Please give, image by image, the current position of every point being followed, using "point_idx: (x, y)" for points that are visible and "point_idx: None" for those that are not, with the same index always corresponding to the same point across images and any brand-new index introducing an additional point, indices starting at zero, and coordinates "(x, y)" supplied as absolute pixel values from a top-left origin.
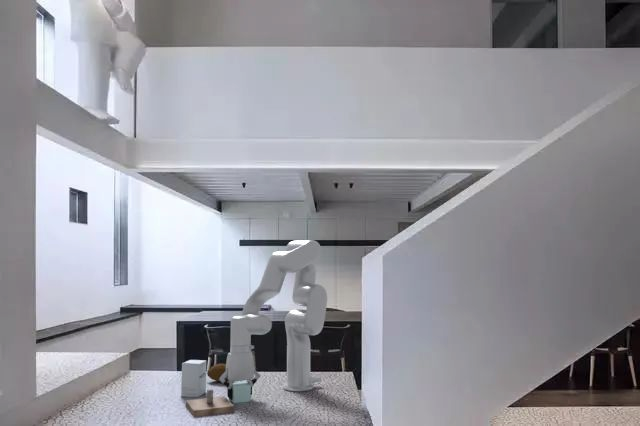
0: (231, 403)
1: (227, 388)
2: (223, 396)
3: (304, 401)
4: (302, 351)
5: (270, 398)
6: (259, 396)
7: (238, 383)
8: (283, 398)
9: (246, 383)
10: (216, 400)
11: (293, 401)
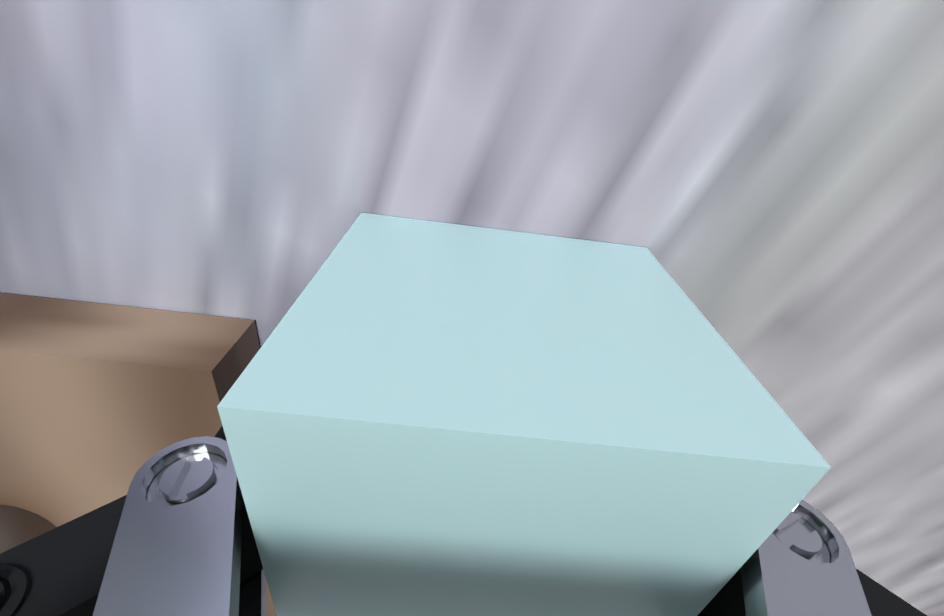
0: (271, 601)
1: (206, 446)
2: (200, 375)
3: (938, 607)
4: None
5: (840, 445)
6: (836, 313)
7: (492, 535)
8: (932, 497)
9: (666, 600)
10: (95, 484)
11: (882, 582)
